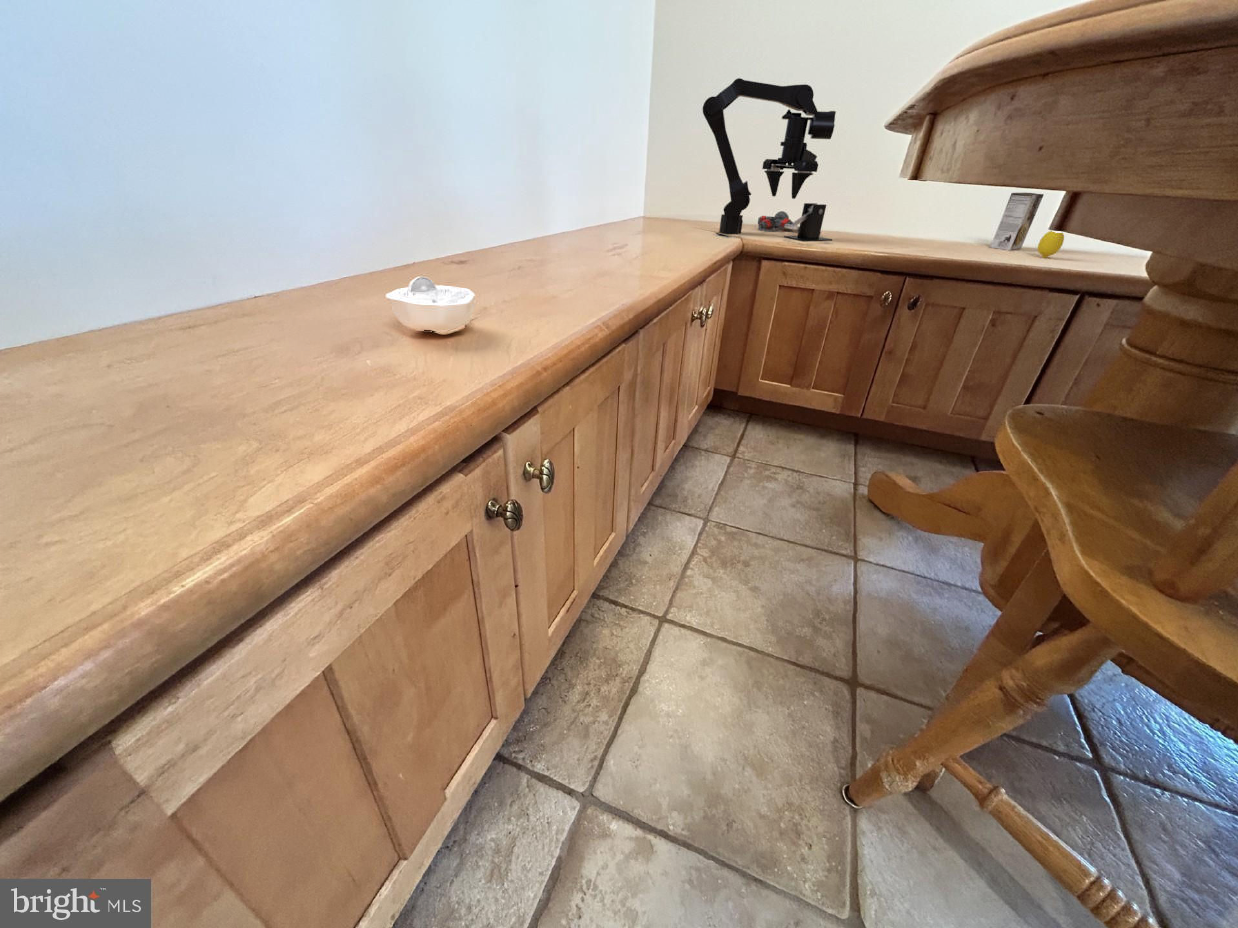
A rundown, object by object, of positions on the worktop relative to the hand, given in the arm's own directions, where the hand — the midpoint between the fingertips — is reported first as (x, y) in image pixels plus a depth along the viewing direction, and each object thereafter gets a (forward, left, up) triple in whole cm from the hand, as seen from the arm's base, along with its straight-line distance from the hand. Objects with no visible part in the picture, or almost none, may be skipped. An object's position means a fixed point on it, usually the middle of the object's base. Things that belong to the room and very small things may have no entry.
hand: (783, 197), depth 156 cm
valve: (+12, +11, -12) cm, 20 cm away
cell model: (-115, -69, -12) cm, 135 cm away
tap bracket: (+7, -7, -12) cm, 16 cm away
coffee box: (+71, -31, -12) cm, 78 cm away
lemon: (+62, -48, -12) cm, 79 cm away
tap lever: (+4, -7, -6) cm, 10 cm away
